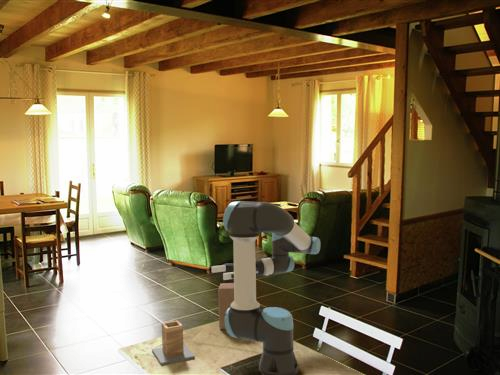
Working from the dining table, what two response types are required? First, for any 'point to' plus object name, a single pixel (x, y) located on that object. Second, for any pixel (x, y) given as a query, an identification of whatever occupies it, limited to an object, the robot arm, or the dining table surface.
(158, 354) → the metal rod stand
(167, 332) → the wooden tube bead
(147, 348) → the dining table surface
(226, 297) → the wooden block
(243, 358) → the dining table surface
